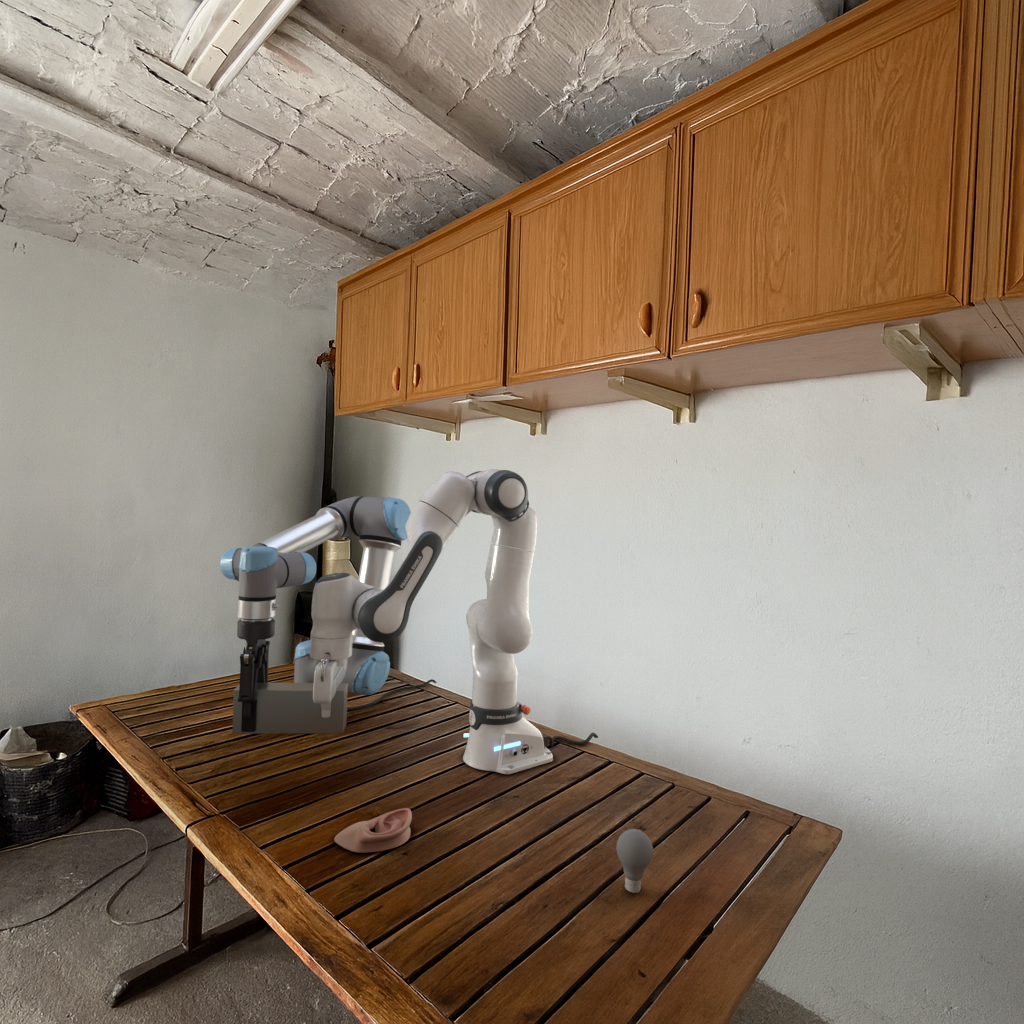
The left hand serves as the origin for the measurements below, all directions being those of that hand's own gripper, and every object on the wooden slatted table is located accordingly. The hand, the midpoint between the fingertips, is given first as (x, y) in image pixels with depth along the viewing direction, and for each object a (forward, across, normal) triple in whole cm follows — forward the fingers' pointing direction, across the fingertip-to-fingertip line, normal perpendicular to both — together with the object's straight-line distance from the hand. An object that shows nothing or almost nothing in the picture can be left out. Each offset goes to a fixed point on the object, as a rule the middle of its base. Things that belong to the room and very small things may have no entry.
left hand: (252, 725), depth 136 cm
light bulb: (+13, -39, -73) cm, 84 cm away
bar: (+1, 0, -8) cm, 8 cm away
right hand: (-3, 0, -16) cm, 16 cm away
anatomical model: (+13, -21, -28) cm, 38 cm away
